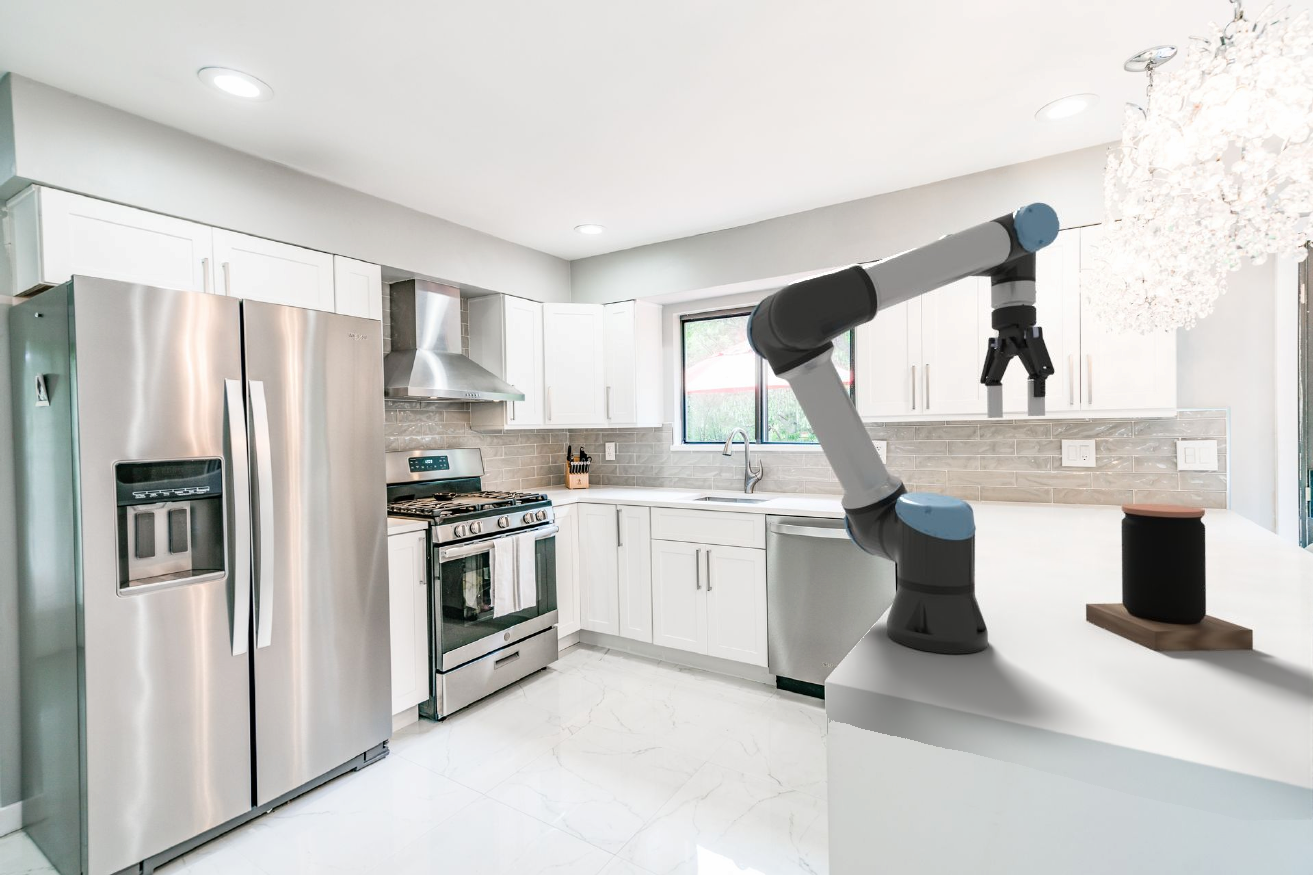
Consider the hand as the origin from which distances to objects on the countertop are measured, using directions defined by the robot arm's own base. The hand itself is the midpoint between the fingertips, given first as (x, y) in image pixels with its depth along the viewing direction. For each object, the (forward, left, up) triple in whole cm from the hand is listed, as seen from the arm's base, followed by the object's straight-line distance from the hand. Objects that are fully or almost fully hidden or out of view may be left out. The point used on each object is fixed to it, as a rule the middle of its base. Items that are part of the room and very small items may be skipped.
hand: (1014, 417), depth 118 cm
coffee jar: (+14, -17, -34) cm, 41 cm away
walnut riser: (+14, -18, -37) cm, 43 cm away
